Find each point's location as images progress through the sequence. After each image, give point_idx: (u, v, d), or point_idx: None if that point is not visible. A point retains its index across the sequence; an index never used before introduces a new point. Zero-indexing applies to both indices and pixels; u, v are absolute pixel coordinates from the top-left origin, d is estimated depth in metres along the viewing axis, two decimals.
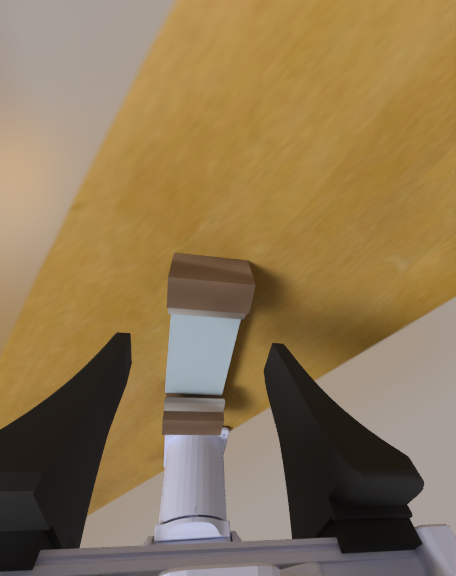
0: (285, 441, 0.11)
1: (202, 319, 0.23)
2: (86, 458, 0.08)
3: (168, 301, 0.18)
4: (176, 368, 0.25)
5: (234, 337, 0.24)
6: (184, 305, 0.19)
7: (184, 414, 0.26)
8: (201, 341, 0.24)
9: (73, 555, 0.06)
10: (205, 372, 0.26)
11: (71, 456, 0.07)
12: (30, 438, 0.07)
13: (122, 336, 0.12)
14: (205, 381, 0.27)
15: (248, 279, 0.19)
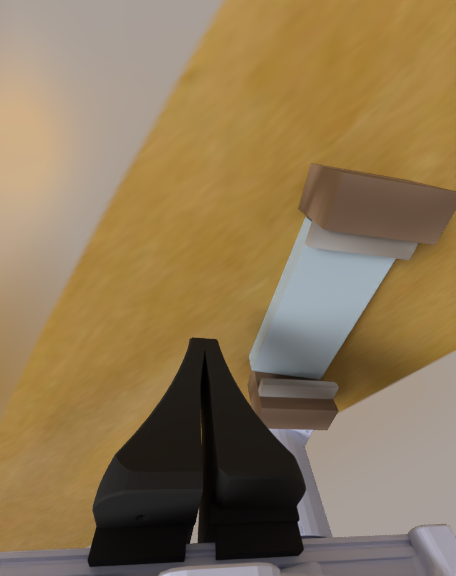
0: (203, 440, 0.11)
1: (338, 265, 0.16)
2: None
3: (329, 218, 0.12)
4: (278, 337, 0.19)
5: (368, 297, 0.18)
6: (350, 226, 0.12)
7: (286, 402, 0.20)
8: (324, 299, 0.18)
9: (73, 555, 0.06)
10: (312, 346, 0.20)
11: None
12: (169, 440, 0.07)
13: (198, 341, 0.12)
14: (307, 359, 0.20)
15: (444, 189, 0.12)
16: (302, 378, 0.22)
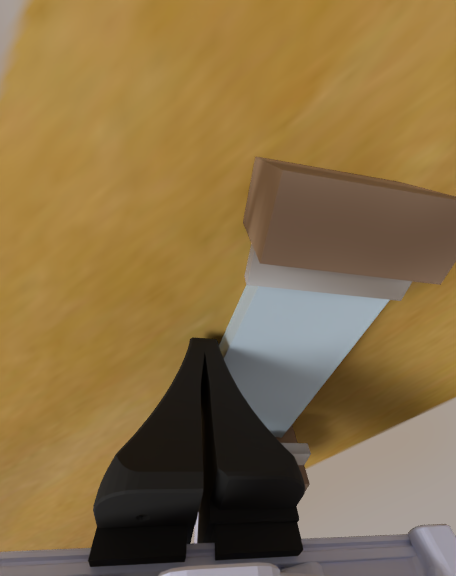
0: (202, 440, 0.11)
1: (311, 304, 0.12)
2: None
3: (267, 246, 0.07)
4: None
5: (349, 347, 0.13)
6: (302, 258, 0.08)
7: None
8: (290, 346, 0.13)
9: (73, 555, 0.06)
10: (272, 400, 0.15)
11: None
12: (169, 440, 0.07)
13: (199, 341, 0.12)
14: (265, 414, 0.16)
15: None
16: None
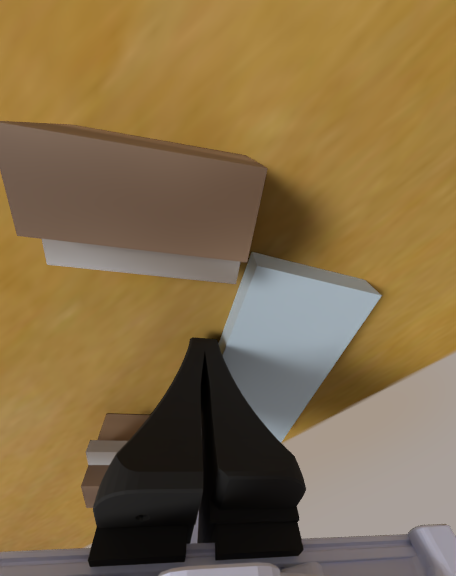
0: (203, 440, 0.11)
1: (295, 318, 0.12)
2: None
3: (15, 215, 0.06)
4: None
5: (337, 355, 0.14)
6: (66, 230, 0.07)
7: None
8: (279, 357, 0.13)
9: (73, 555, 0.06)
10: (268, 408, 0.15)
11: None
12: (169, 440, 0.07)
13: (198, 341, 0.12)
14: (262, 421, 0.16)
15: (246, 162, 0.07)
16: None
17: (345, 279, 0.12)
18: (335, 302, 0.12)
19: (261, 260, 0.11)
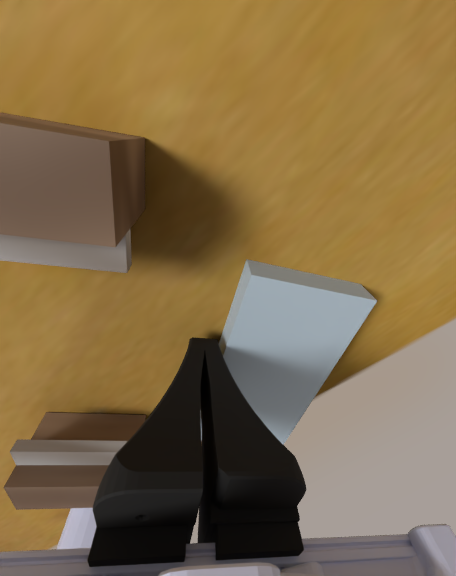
0: (203, 440, 0.11)
1: (291, 324, 0.12)
2: None
3: None
4: None
5: (335, 359, 0.14)
6: None
7: (54, 473, 0.14)
8: (277, 363, 0.13)
9: (73, 555, 0.06)
10: (268, 413, 0.16)
11: None
12: (169, 439, 0.07)
13: (198, 341, 0.12)
14: None
15: (100, 137, 0.06)
16: (109, 430, 0.16)
17: (340, 285, 0.12)
18: (331, 308, 0.12)
19: (256, 269, 0.11)
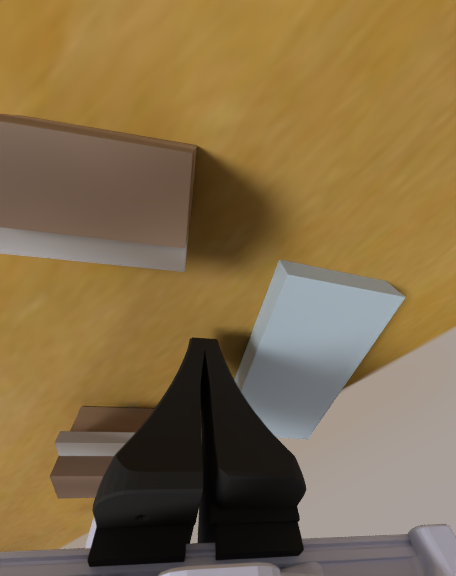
0: (203, 440, 0.11)
1: (323, 321, 0.13)
2: None
3: None
4: (252, 399, 0.15)
5: (363, 354, 0.14)
6: (0, 216, 0.07)
7: (95, 463, 0.14)
8: (307, 358, 0.14)
9: (73, 555, 0.06)
10: (295, 406, 0.16)
11: None
12: (169, 440, 0.07)
13: (198, 341, 0.12)
14: (290, 420, 0.17)
15: (177, 148, 0.07)
16: None
17: (369, 282, 0.13)
18: (361, 305, 0.12)
19: (290, 269, 0.12)
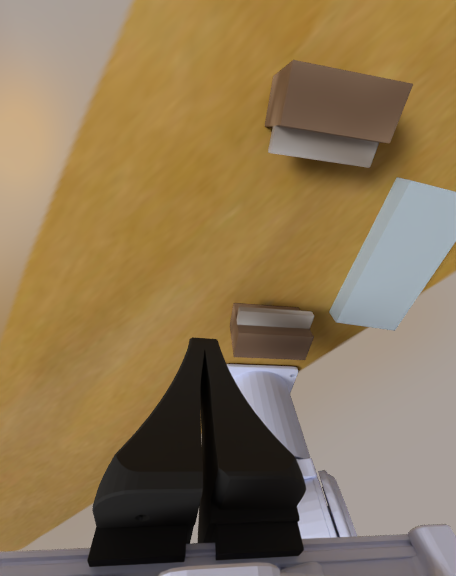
0: (203, 440, 0.11)
1: (426, 219, 0.19)
2: None
3: (284, 112, 0.13)
4: (364, 289, 0.22)
5: (448, 248, 0.20)
6: (305, 121, 0.13)
7: (263, 329, 0.20)
8: (409, 251, 0.20)
9: (73, 555, 0.06)
10: (392, 297, 0.22)
11: None
12: (169, 440, 0.07)
13: (198, 341, 0.12)
14: (386, 310, 0.23)
15: None
16: None
17: None
18: (453, 206, 0.18)
19: (408, 180, 0.18)
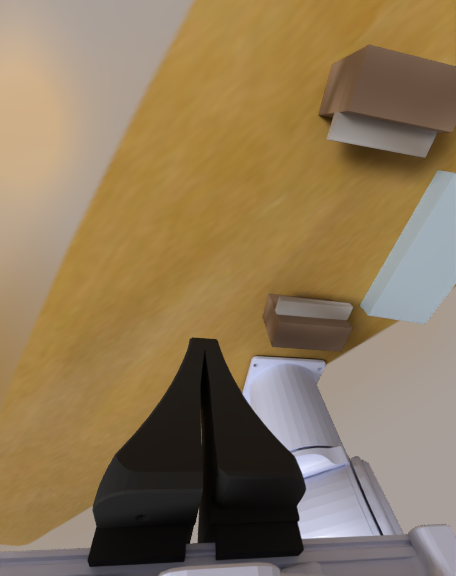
0: (203, 440, 0.11)
1: None
2: None
3: (353, 97, 0.13)
4: (398, 282, 0.22)
5: None
6: (372, 108, 0.13)
7: (302, 319, 0.20)
8: (447, 244, 0.20)
9: (73, 555, 0.06)
10: (426, 290, 0.22)
11: None
12: (169, 439, 0.07)
13: (198, 341, 0.12)
14: (418, 303, 0.23)
15: None
16: None
17: None
18: None
19: (451, 172, 0.18)
